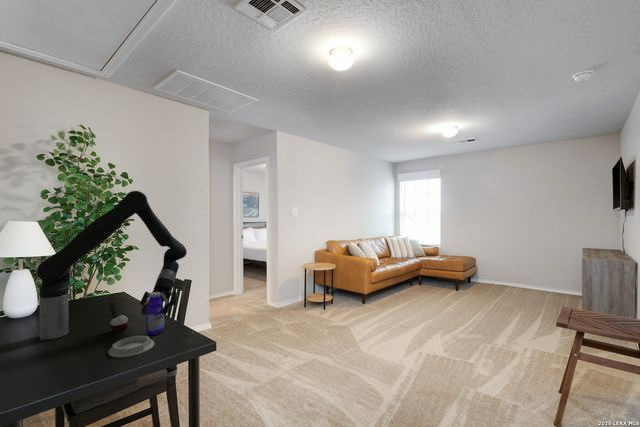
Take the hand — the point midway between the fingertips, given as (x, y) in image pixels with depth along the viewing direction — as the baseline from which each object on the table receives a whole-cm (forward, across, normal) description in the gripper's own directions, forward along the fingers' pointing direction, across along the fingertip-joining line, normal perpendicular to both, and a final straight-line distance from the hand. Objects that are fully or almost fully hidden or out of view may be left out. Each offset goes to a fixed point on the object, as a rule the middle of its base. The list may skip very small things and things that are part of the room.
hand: (153, 314), depth 131 cm
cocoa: (+3, -17, +10) cm, 20 cm away
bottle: (+5, 0, +7) cm, 9 cm away
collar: (+16, -2, -3) cm, 16 cm away
